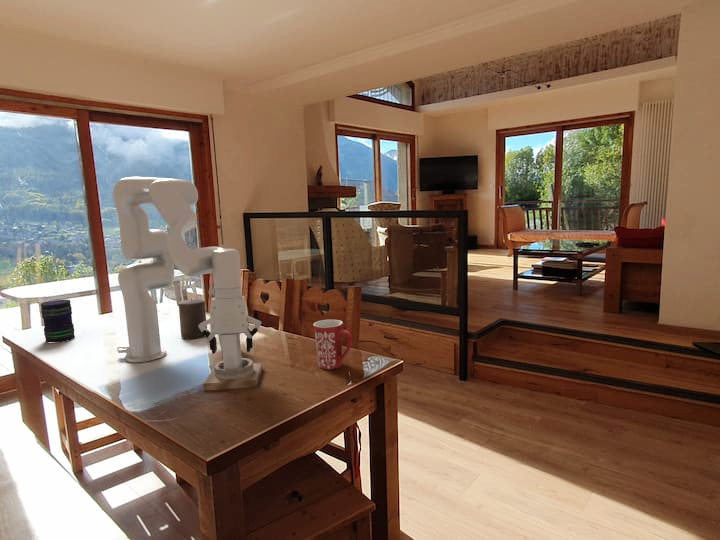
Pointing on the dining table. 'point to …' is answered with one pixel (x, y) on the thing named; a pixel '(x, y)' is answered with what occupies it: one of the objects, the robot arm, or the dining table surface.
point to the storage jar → (57, 320)
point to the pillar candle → (192, 318)
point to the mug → (330, 343)
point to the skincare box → (231, 351)
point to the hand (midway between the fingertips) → (231, 351)
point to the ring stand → (234, 376)
